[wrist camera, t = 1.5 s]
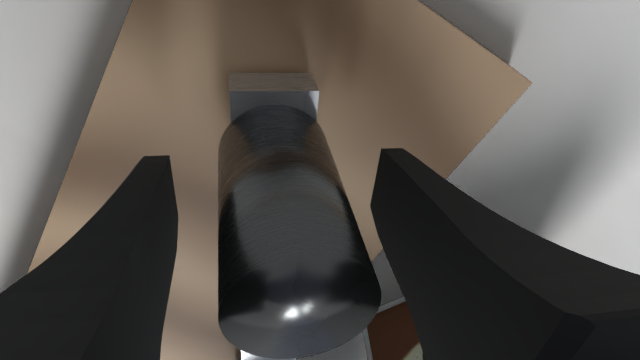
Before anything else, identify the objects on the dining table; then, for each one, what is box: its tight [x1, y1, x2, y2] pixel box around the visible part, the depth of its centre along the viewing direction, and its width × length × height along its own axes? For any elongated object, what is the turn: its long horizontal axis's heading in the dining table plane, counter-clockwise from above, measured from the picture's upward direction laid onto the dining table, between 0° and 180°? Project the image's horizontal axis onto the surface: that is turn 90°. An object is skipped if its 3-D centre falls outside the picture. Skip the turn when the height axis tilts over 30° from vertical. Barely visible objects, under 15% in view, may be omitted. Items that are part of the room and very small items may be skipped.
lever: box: [218, 73, 381, 360], centre depth 15 cm, size 16×3×7 cm, turn 175°
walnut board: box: [27, 0, 532, 360], centre depth 17 cm, size 20×12×2 cm, turn 147°
